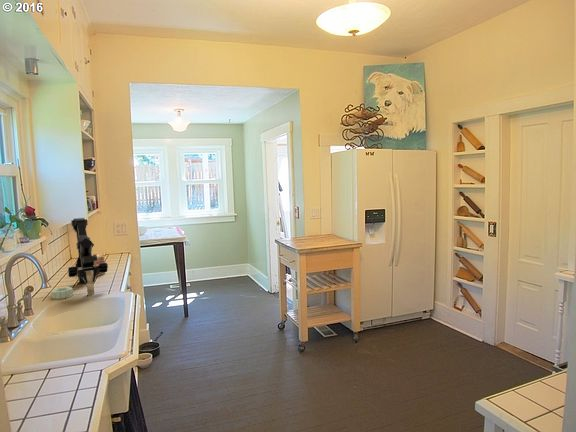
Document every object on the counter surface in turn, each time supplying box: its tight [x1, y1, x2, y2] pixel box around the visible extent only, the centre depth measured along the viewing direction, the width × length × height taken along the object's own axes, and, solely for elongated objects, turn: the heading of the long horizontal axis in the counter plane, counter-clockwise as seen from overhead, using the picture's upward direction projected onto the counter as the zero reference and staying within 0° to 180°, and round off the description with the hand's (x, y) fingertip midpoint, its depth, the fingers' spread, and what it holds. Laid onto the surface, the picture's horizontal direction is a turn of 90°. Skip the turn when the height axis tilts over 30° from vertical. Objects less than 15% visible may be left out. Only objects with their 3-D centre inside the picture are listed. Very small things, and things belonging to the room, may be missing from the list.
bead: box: [51, 286, 74, 300], centre depth 200 cm, size 9×9×4 cm
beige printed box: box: [92, 254, 106, 277], centre depth 254 cm, size 21×6×12 cm, turn 60°
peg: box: [86, 270, 95, 296], centre depth 202 cm, size 3×3×12 cm
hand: (90, 282), depth 201 cm, fingers closed on peg, 3 cm apart
